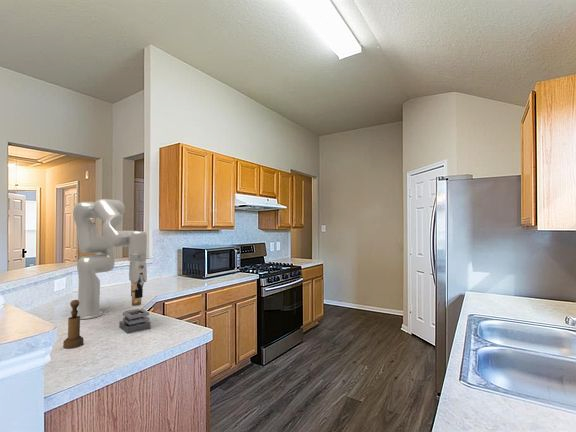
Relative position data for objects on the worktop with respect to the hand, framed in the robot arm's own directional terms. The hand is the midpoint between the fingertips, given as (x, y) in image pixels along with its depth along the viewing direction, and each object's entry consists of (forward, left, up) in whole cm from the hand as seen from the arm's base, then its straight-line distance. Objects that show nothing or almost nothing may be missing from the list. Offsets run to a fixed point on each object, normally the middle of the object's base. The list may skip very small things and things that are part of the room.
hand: (136, 296), depth 144 cm
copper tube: (0, 0, -4) cm, 4 cm away
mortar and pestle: (+4, -25, -15) cm, 29 cm away
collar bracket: (-1, 0, -15) cm, 15 cm away
